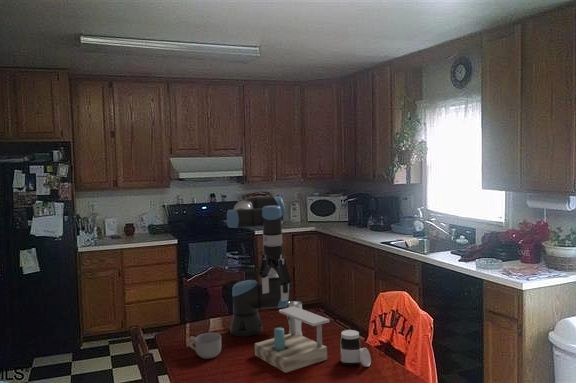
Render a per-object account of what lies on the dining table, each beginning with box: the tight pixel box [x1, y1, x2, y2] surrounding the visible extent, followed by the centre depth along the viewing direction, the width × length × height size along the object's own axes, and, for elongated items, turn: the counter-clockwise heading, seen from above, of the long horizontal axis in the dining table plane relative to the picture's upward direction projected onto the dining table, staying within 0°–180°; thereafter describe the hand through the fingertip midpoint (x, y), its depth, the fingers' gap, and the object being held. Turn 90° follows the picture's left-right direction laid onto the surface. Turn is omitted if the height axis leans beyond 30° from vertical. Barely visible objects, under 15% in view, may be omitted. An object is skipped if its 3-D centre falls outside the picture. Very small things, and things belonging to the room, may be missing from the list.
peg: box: [273, 327, 285, 352], centre depth 196 cm, size 4×4×12 cm
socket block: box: [254, 333, 328, 373], centre depth 199 cm, size 22×20×5 cm
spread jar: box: [339, 329, 372, 368], centre depth 191 cm, size 12×11×12 cm
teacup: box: [187, 332, 222, 360], centre depth 204 cm, size 14×11×8 cm
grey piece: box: [278, 306, 330, 348], centre depth 203 cm, size 24×8×11 cm, turn 35°
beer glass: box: [286, 300, 303, 336], centre depth 224 cm, size 7×7×15 cm
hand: (274, 296), depth 200 cm, fingers open, 13 cm apart
